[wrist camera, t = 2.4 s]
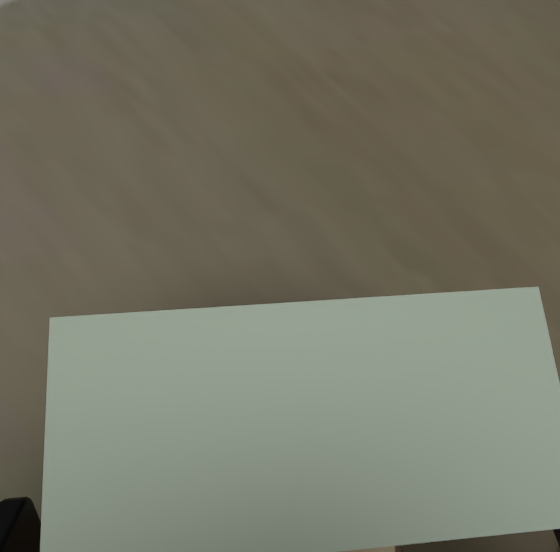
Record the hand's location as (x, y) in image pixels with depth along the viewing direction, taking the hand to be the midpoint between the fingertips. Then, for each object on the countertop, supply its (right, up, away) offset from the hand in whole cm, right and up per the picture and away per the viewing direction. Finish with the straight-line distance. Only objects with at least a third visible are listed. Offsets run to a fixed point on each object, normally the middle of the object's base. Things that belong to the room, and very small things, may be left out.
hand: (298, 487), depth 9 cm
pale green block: (-1, -1, +8) cm, 8 cm away
